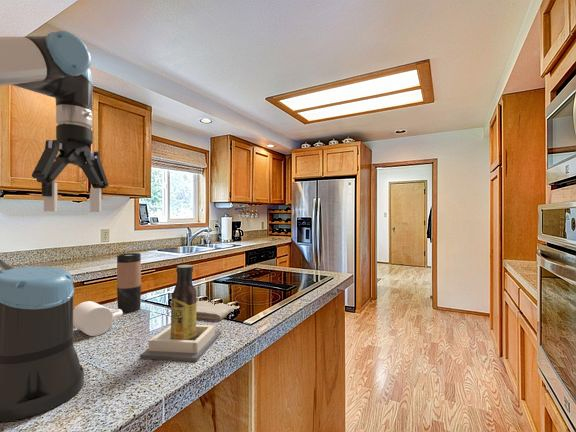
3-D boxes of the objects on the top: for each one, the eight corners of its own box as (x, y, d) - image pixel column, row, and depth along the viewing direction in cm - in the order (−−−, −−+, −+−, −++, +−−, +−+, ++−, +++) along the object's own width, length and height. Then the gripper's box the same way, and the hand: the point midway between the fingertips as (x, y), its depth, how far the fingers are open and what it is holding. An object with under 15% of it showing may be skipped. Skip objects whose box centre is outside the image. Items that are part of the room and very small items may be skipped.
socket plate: (196, 361, 69) (196, 347, 69) (140, 358, 71) (139, 344, 71) (220, 334, 85) (220, 322, 85) (173, 332, 87) (173, 320, 87)
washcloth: (195, 307, 113) (195, 298, 113) (238, 311, 107) (238, 302, 107) (173, 317, 101) (173, 308, 101) (220, 323, 96) (220, 313, 96)
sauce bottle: (166, 342, 78) (166, 265, 78) (188, 335, 82) (188, 262, 82) (178, 349, 73) (178, 268, 73) (201, 341, 78) (201, 265, 78)
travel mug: (145, 308, 109) (145, 253, 109) (124, 314, 102) (124, 256, 103) (133, 305, 113) (133, 252, 113) (112, 311, 107) (112, 254, 107)
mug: (82, 340, 82) (82, 310, 82) (69, 331, 88) (69, 304, 88) (128, 327, 91) (127, 301, 91) (113, 320, 97) (113, 295, 97)
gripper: (41, 108, 62) (42, 210, 62) (122, 139, 87) (122, 212, 87) (9, 110, 63) (10, 211, 63) (98, 140, 88) (98, 212, 88)
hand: (75, 212), depth 75 cm, fingers open, 13 cm apart
